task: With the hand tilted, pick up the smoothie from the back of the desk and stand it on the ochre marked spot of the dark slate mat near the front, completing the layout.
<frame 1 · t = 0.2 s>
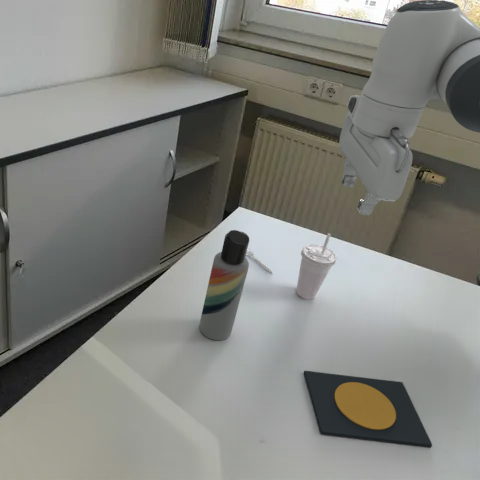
hand: (354, 198, 88), 25 cm above the table, tool pointing down, fingers open, 8 cm apart
white spoon: (244, 259, 116), on the table
mat: (363, 408, 83), on the table
smoothie: (305, 294, 107), on the table
lotion bottle: (214, 330, 96), on the table
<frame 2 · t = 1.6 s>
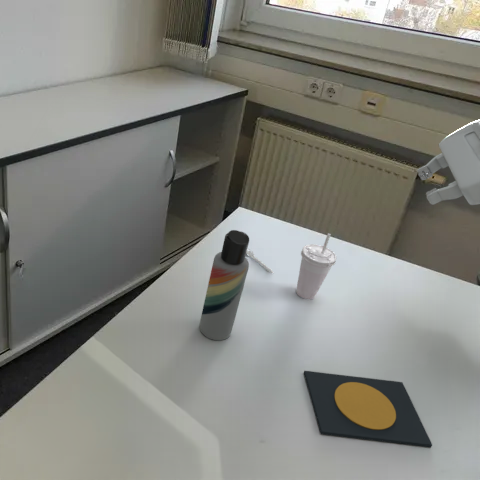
hand: (423, 186, 90), 27 cm above the table, tool tilted 45°, fingers open, 8 cm apart
nothing on the table moved.
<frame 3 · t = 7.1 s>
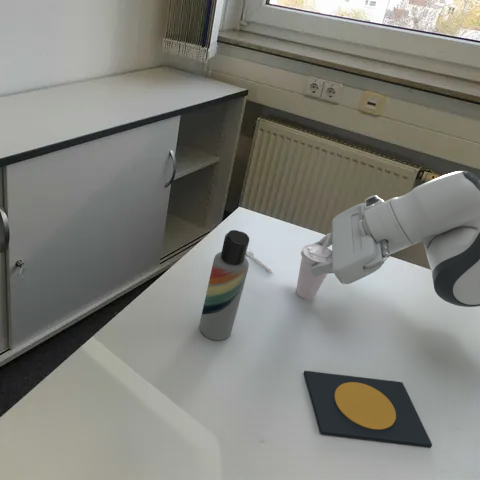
hand: (313, 260, 103), 8 cm above the table, tool tilted 45°, fingers closed on smoothie, 6 cm apart
smoothie: (305, 294, 107), on the table, touching gripper
everything else where it was.
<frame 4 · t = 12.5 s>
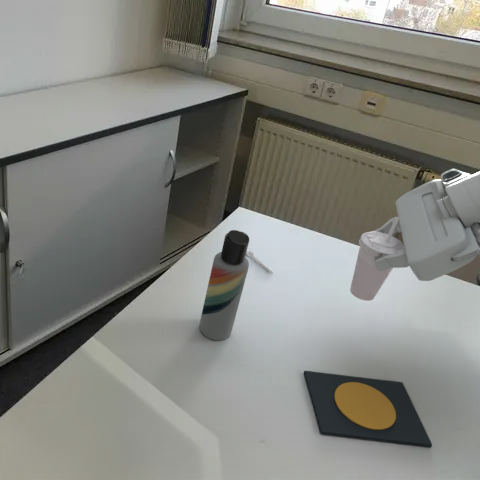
hand: (374, 251, 82), 21 cm above the table, tool tilted 45°, fingers closed on smoothie, 6 cm apart
smoothie: (361, 294, 86), point 13 cm above the table, touching gripper
everything else where it was.
when the fingers open (9 cm above the table, at t = 18.2 s): smoothie stays where it is, resting on mat.
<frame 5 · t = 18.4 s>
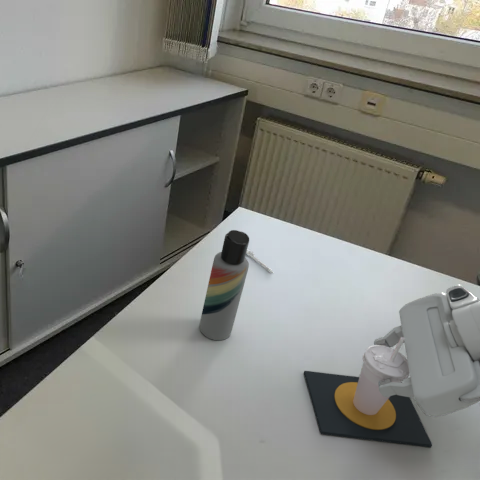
hand: (378, 367, 79), 9 cm above the table, tool tilted 45°, fingers open, 8 cm apart
smoothie: (365, 406, 83), point 1 cm above the table, touching mat
everything else where it was.
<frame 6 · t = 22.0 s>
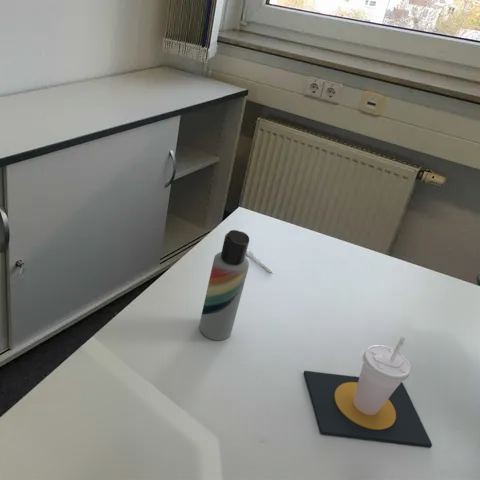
nothing on the table moved.
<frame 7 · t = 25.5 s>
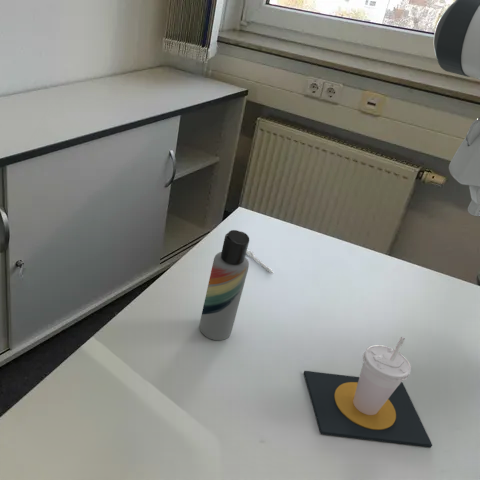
nothing on the table moved.
at the end: smoothie 0.1 cm off-centre on the mat, point 0.6 cm above the mat's base; smoothie tilted 0°; the gripper is holding nothing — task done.
